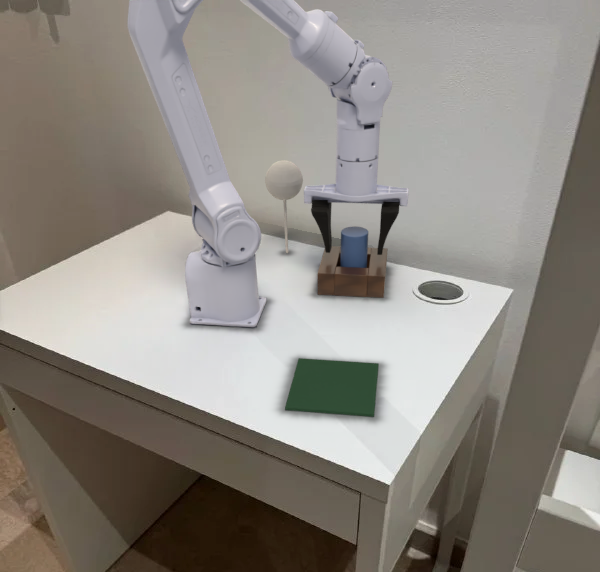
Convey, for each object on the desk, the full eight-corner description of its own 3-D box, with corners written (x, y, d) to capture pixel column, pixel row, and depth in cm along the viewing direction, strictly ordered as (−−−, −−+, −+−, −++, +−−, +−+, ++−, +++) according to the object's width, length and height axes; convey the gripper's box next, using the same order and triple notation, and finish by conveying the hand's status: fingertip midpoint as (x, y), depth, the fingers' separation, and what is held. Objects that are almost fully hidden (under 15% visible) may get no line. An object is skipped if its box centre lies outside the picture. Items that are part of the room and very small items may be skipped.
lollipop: (311, 255, 99) (309, 162, 90) (280, 263, 97) (275, 169, 88) (293, 242, 103) (290, 153, 94) (263, 250, 101) (257, 159, 92)
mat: (285, 410, 67) (284, 407, 66) (298, 360, 74) (298, 358, 74) (374, 417, 65) (374, 414, 65) (378, 365, 73) (378, 363, 73)
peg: (338, 286, 90) (339, 236, 85) (341, 274, 93) (342, 225, 88) (365, 287, 89) (367, 237, 84) (366, 276, 92) (369, 226, 87)
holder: (317, 294, 88) (317, 273, 86) (325, 266, 96) (325, 245, 93) (383, 298, 87) (385, 276, 84) (386, 268, 94) (387, 248, 92)
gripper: (411, 148, 82) (403, 241, 90) (308, 147, 84) (309, 238, 92) (411, 163, 76) (402, 261, 85) (300, 161, 78) (303, 257, 87)
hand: (354, 251), depth 88 cm, fingers open, 7 cm apart
